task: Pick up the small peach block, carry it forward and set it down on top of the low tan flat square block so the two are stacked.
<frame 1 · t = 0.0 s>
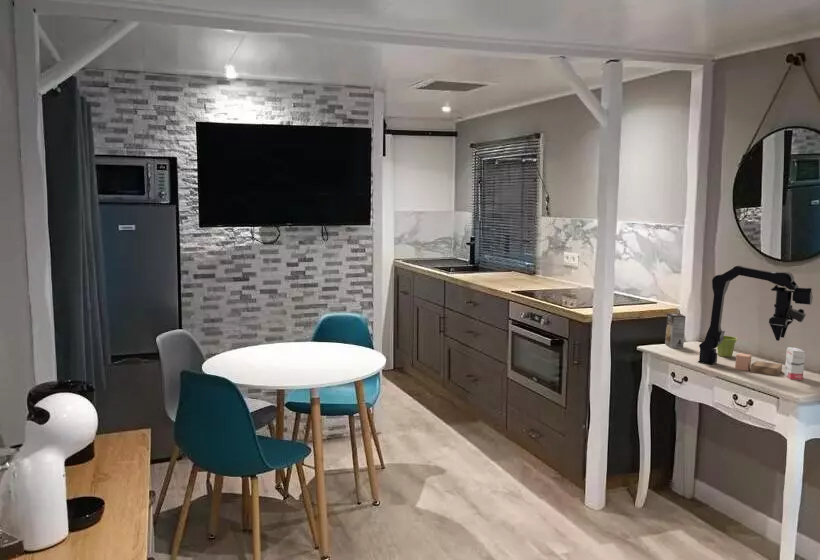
hand: (780, 339, 297), 15 cm above the table, fingers open, 9 cm apart
coffee box: (674, 346, 350), on the table
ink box: (793, 377, 292), on the table
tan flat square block: (766, 371, 301), on the table
plant pot: (724, 356, 331), on the table
peach block: (742, 368, 306), on the table
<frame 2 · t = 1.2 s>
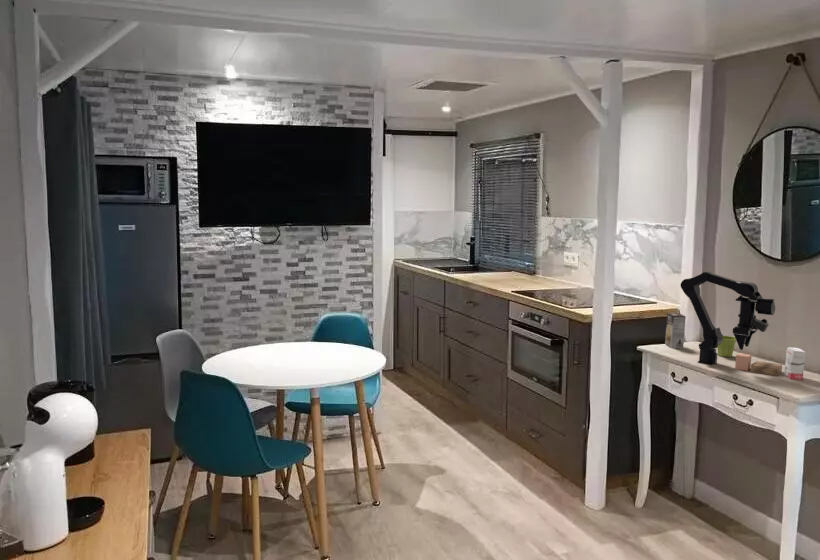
hand: (744, 348, 305), 9 cm above the table, fingers open, 9 cm apart
nothing on the table moved.
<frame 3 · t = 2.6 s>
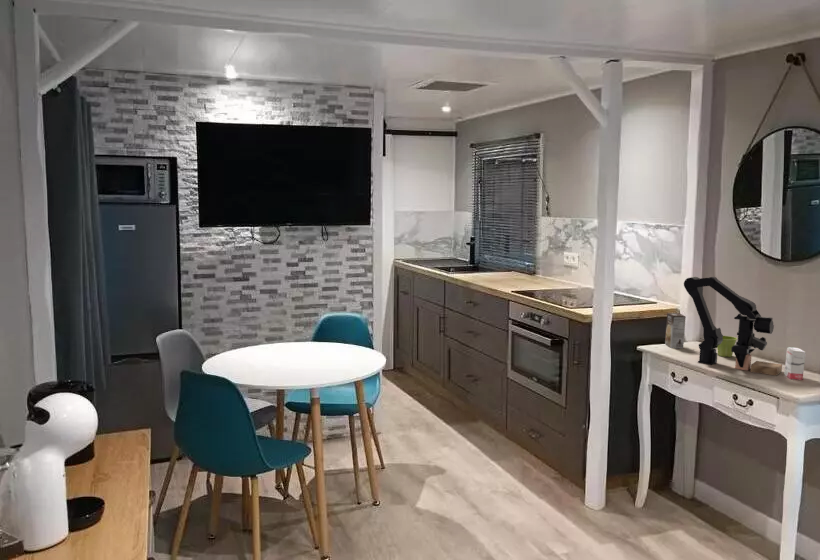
hand: (742, 366, 306), 1 cm above the table, fingers closed on peach block, 5 cm apart
peach block: (742, 368, 306), on the table, touching gripper
everything else where it was.
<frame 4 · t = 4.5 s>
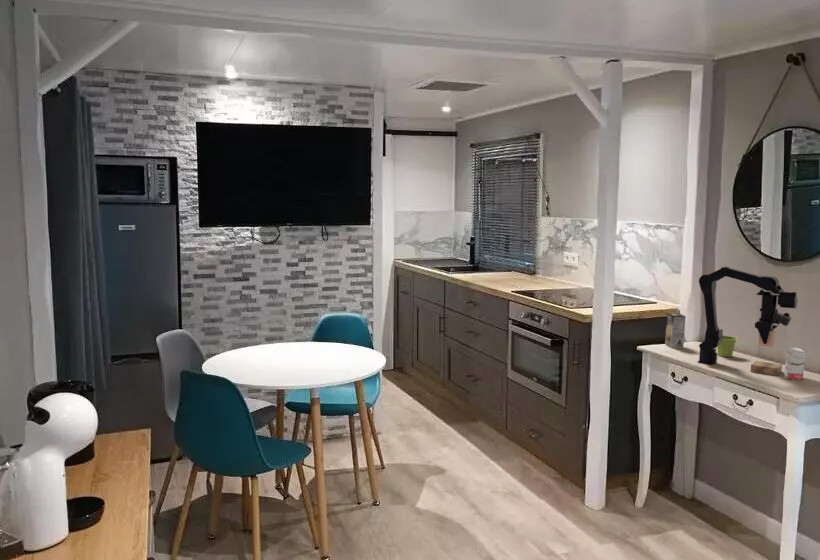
hand: (766, 342, 300), 12 cm above the table, fingers closed on peach block, 5 cm apart
peach block: (766, 345, 300), point 11 cm above the table, touching gripper
everything else where it was.
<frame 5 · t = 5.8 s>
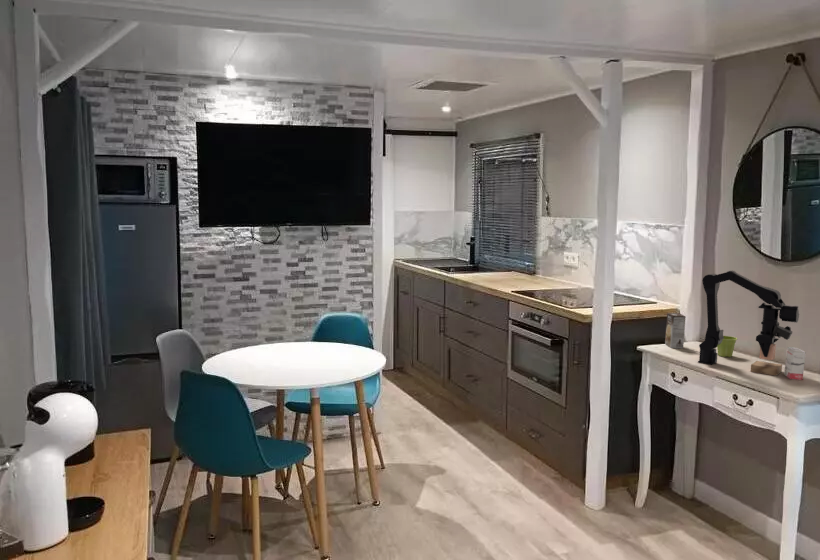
hand: (767, 355, 300), 7 cm above the table, fingers closed on peach block, 5 cm apart
peach block: (767, 358, 301), point 6 cm above the table, touching gripper
everything else where it was.
when the fingers open (5 cm above the table, at t = 6.7 s): peach block stays where it is, resting on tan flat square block.
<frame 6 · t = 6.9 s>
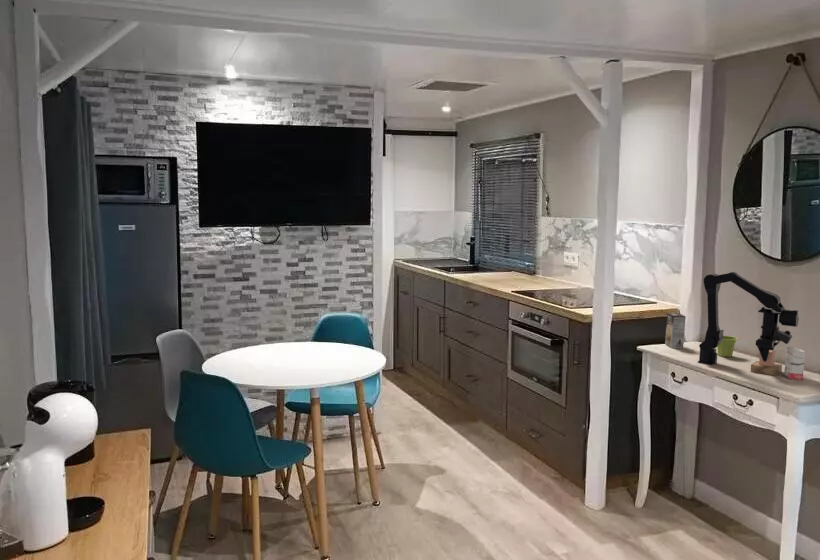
hand: (766, 360, 301), 5 cm above the table, fingers open, 7 cm apart
peach block: (766, 364, 301), point 3 cm above the table, touching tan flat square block
everything else where it was.
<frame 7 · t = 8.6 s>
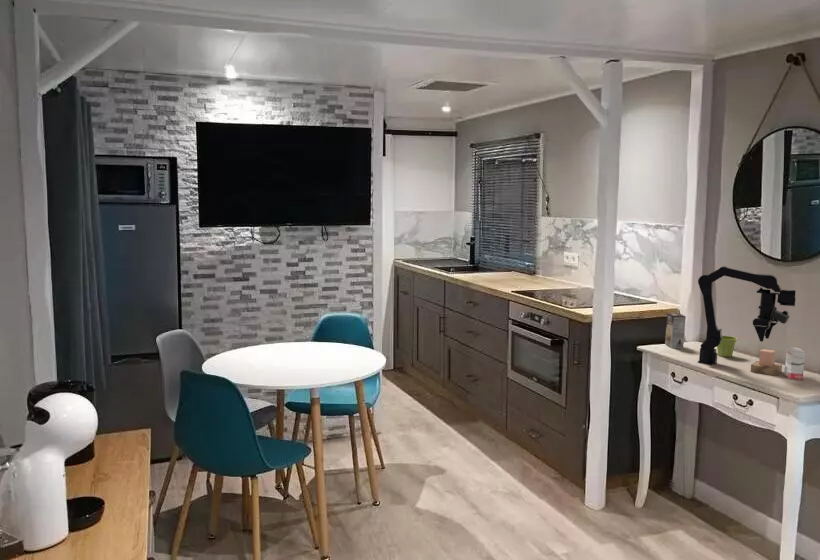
hand: (764, 340, 304), 13 cm above the table, fingers open, 9 cm apart
nothing on the table moved.
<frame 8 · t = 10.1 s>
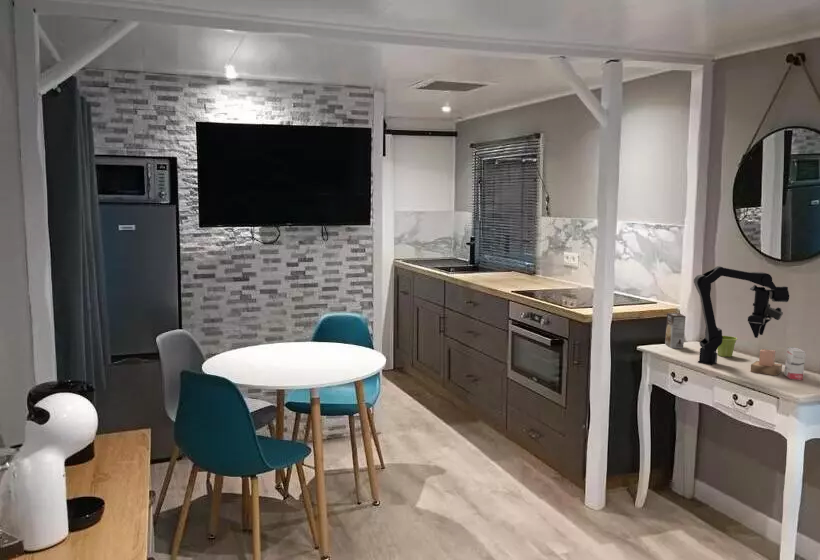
hand: (758, 336, 311), 13 cm above the table, fingers open, 9 cm apart
nothing on the table moved.
at the end: peach block inside the target area on the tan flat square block (0.0 cm from its centre), point 3.0 cm above the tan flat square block's base; peach block tilted 0°; peach block touching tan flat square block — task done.
